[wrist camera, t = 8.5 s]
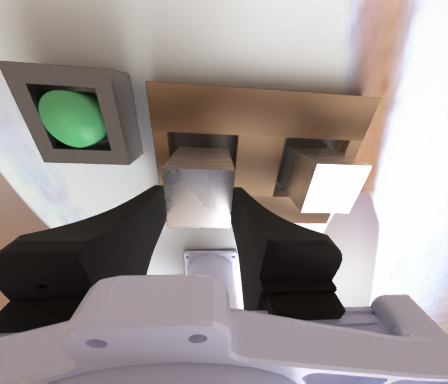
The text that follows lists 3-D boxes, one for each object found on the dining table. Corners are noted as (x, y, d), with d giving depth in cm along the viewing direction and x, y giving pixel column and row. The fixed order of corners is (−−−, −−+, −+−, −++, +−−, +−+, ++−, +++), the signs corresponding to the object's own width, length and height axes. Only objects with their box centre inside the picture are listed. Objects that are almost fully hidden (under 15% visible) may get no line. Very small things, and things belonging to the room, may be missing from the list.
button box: (143, 153, 18) (129, 164, 15) (73, 150, 18) (44, 162, 15) (129, 74, 15) (108, 68, 12) (42, 68, 14) (-4, 60, 11)
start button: (120, 140, 17) (104, 148, 14) (76, 138, 16) (52, 146, 14) (109, 92, 15) (89, 92, 12) (59, 89, 14) (27, 88, 12)
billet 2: (314, 183, 21) (349, 213, 15) (278, 182, 20) (301, 212, 15) (327, 146, 18) (372, 165, 13) (287, 144, 18) (317, 164, 13)
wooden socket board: (316, 212, 24) (326, 223, 22) (169, 211, 22) (165, 222, 20) (362, 97, 17) (381, 97, 15) (153, 82, 15) (145, 80, 13)
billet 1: (225, 191, 18) (230, 228, 13) (181, 190, 18) (168, 227, 12) (228, 148, 16) (235, 170, 11) (179, 146, 16) (161, 167, 10)
